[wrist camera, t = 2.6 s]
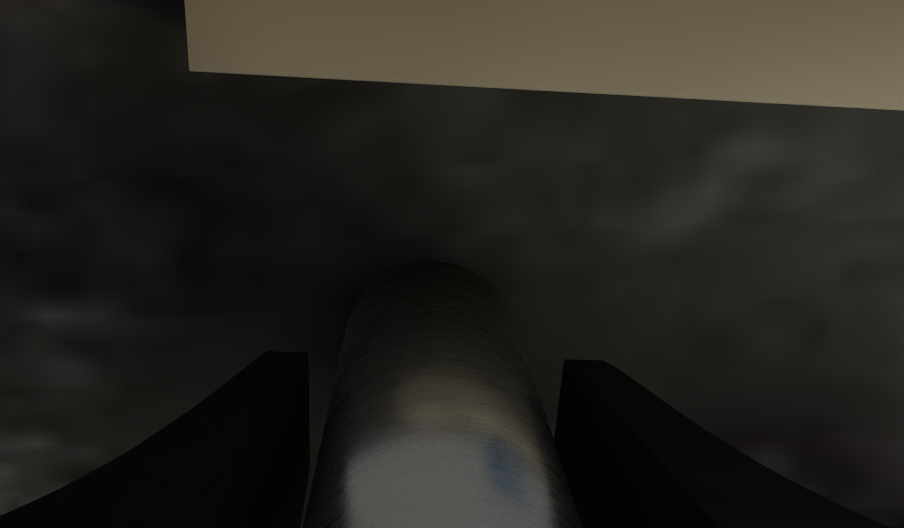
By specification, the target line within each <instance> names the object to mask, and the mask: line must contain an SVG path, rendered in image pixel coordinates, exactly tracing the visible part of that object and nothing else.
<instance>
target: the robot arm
mask: <svg viewBox="0 0 904 528" xmlns="http://www.w3.org/2000/svg"><path fill="white" fill-rule="evenodd" d="M554 443H555V446H556V449H557V452H558V455H559V458H560V461H561V464H562V467H563V470H564V473H565V476H566V479H567V482H568V485H569V488H570V491H571V494H572V497H573V500H574V503H575V506H576V509H577V512H578V515H579V518H580V521H581V524H582V527H583V528H890V527H888V526H886V525H883V524H881V523H879V522H876V521H874V520H872V519H869V518H867V517H865V516H862V515H860V514H858V513H856V512H853V511H851V510H849V509H847V508H845V507H843V506H841V505H838V504H836V503H834V502H832V501H830V500H828V499H826V498H824V497H822V496H820V495H818V494H816V493H814V492H812V491H810V490H808V489H807V488H805V487H803V486H801V485H799V484H797V483H795V482H793V481H791V480H789V479H787V478H785V477H783V476H781V475H779V474H778V473H776V472H774V471H772V470H771V469H769V468H767V467H765V466H763V465H762V464H760V463H758V462H756V461H755V460H753V459H751V458H750V457H748V456H746V455H745V454H743V453H742V452H740V451H738V450H737V449H735V448H733V447H732V446H730V445H729V444H727V443H725V442H724V441H722V440H720V439H719V438H717V437H716V436H714V435H713V434H711V433H710V432H708V431H706V430H705V429H703V428H702V427H700V426H699V425H697V424H696V423H694V422H693V421H691V420H690V419H688V418H687V417H686V416H684V415H683V414H681V413H680V412H678V411H677V410H675V409H674V408H673V407H671V406H670V405H668V404H667V403H665V402H664V401H663V400H661V399H660V398H658V397H657V396H656V395H654V394H653V393H651V392H650V391H649V390H647V389H646V388H644V387H643V386H641V385H640V384H639V383H637V382H636V381H634V380H633V379H632V378H630V377H629V376H627V375H626V374H624V373H623V372H621V371H620V370H618V369H617V368H615V367H614V366H612V365H610V364H609V363H607V362H605V361H600V360H564V366H563V374H562V382H561V390H560V398H559V406H558V413H557V421H556V429H555V437H554ZM309 469H310V446H309V376H308V352H274V351H267V352H266V353H264V354H263V355H261V356H260V357H259V358H257V359H256V360H255V361H253V362H252V363H251V364H249V365H248V366H247V367H246V368H244V369H243V370H242V371H241V372H239V373H238V374H237V375H236V376H234V377H233V378H232V379H230V380H229V381H228V382H227V383H225V384H224V385H223V386H221V387H220V388H219V389H217V390H216V391H215V392H213V393H212V394H211V395H209V396H208V397H207V398H206V399H204V400H203V401H202V402H200V403H199V404H198V405H196V406H195V407H194V408H192V409H191V410H189V411H188V412H186V413H185V414H183V415H182V416H180V417H179V418H177V419H176V420H175V421H173V422H172V423H170V424H169V425H167V426H166V427H164V428H163V429H161V430H160V431H158V432H157V433H155V434H154V435H152V436H151V437H149V438H148V439H146V440H145V441H143V442H142V443H140V444H139V445H137V446H136V447H134V448H132V449H131V450H129V451H127V452H126V453H124V454H122V455H121V456H119V457H117V458H116V459H114V460H112V461H110V462H109V463H107V464H105V465H103V466H101V467H100V468H98V469H96V470H94V471H92V472H90V473H89V474H87V475H85V476H83V477H81V478H79V479H77V480H76V481H74V482H72V483H70V484H68V485H66V486H64V487H62V488H60V489H58V490H56V491H54V492H52V493H50V494H48V495H45V496H43V497H41V498H39V499H37V500H34V501H32V502H30V503H28V504H26V505H23V506H21V507H19V508H17V509H15V510H13V511H10V512H8V513H6V514H4V515H2V516H0V528H300V523H301V518H302V512H303V506H304V500H305V494H306V488H307V482H308V475H309Z"/></svg>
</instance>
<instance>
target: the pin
mask: <svg viewBox="0 0 904 528" xmlns="http://www.w3.org/2000/svg"><path fill="white" fill-rule="evenodd" d="M303 528H583V527H582V524H581V521H580V518H579V515H578V512H577V509H576V506H575V503H574V500H573V497H572V494H571V491H570V488H569V485H568V482H567V479H566V476H565V473H564V470H563V467H562V464H561V461H560V458H559V455H558V452H557V449H556V446H555V443H554V440H553V437H552V434H551V431H550V428H549V425H548V422H547V419H546V416H545V413H544V410H543V407H542V404H541V401H540V398H539V395H538V392H537V389H536V386H535V383H534V380H533V377H532V374H531V371H530V368H529V365H528V362H527V359H526V356H525V353H524V350H523V347H522V344H521V341H520V338H519V335H518V332H517V329H516V326H515V323H514V320H513V317H512V314H511V312H510V310H509V307H508V305H507V304H506V302H505V300H504V299H503V297H502V296H501V295H500V294H499V292H498V291H497V290H496V289H495V288H494V287H493V286H492V285H491V284H490V283H489V282H488V281H486V280H485V279H483V278H482V277H480V276H479V275H477V274H475V273H473V272H471V271H469V270H467V269H464V268H462V267H459V266H455V265H451V264H445V263H435V262H434V263H419V264H412V265H408V266H405V267H401V268H399V269H396V270H394V271H391V272H389V273H388V274H386V275H384V276H382V277H381V278H379V279H378V280H377V281H375V282H374V283H373V284H371V285H370V286H369V287H368V288H367V289H366V290H365V291H364V292H363V294H362V295H361V296H360V297H359V299H358V300H357V302H356V303H355V305H354V307H353V309H352V310H351V313H350V316H349V318H348V321H347V326H346V330H345V335H344V339H343V344H342V349H341V353H340V358H339V363H338V367H337V372H336V377H335V381H334V386H333V391H332V395H331V400H330V404H329V409H328V414H327V418H326V423H325V428H324V432H323V437H322V442H321V446H320V451H319V456H318V460H317V465H316V470H315V474H314V479H313V484H312V488H311V493H310V498H309V502H308V507H307V512H306V516H305V521H304V526H303Z"/></svg>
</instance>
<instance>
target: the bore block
mask: <svg viewBox="0 0 904 528" xmlns="http://www.w3.org/2000/svg"><path fill="white" fill-rule="evenodd" d="M184 1H185V15H186V30H187V44H188V59H189V71H197V72H216V73H234V74H252V75H270V76H288V77H306V78H325V79H343V80H361V81H379V82H397V83H415V84H434V85H452V86H470V87H488V88H506V89H524V90H543V91H561V92H579V93H597V94H615V95H633V96H652V97H670V98H688V99H706V100H724V101H742V102H761V103H779V104H797V105H815V106H833V107H851V108H870V109H888V110H904V0H184Z"/></svg>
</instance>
